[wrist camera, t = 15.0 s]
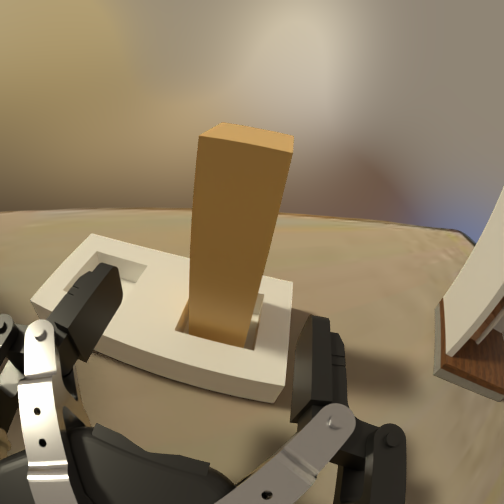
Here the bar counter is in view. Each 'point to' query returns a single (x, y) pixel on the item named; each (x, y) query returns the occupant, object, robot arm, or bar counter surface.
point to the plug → (233, 226)
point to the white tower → (475, 317)
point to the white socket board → (178, 321)
